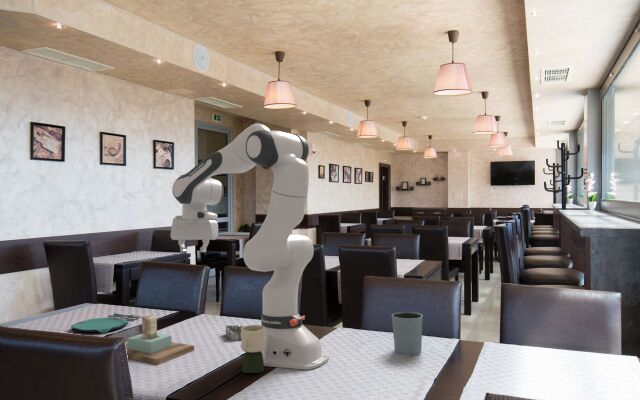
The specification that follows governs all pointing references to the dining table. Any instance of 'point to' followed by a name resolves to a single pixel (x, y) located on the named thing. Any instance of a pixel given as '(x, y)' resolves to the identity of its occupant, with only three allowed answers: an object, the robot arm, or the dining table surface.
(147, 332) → the beige tall block
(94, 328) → the teal flat piece
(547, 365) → the dining table surface
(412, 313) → the grey green cup
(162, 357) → the walnut board
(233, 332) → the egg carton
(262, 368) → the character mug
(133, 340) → the end cap
